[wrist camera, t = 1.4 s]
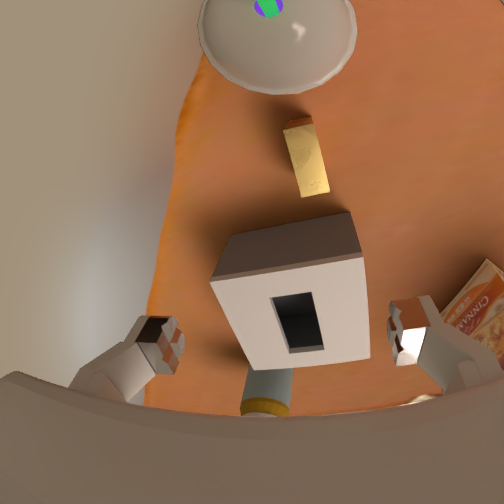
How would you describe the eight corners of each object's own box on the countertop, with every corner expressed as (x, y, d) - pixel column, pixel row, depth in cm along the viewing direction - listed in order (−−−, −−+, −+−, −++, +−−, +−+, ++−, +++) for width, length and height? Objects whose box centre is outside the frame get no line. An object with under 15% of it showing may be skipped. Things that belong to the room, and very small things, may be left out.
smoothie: (230, 67, 24) (106, 52, 8) (269, 1, 20) (210, -111, 3) (305, 106, 26) (312, 146, 9) (347, 40, 21) (426, -30, 4)
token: (311, 115, 26) (313, 123, 21) (325, 171, 29) (330, 191, 24) (286, 121, 27) (282, 130, 22) (302, 176, 30) (301, 197, 25)
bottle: (293, 344, 43) (284, 432, 31) (294, 370, 47) (286, 449, 35) (249, 343, 45) (229, 427, 32) (254, 368, 48) (238, 445, 36)
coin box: (349, 211, 31) (363, 256, 23) (362, 305, 37) (370, 358, 30) (230, 235, 35) (209, 282, 27) (263, 319, 41) (253, 370, 34)
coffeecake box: (486, 256, 30) (552, 368, 14) (508, 275, 30) (565, 375, 14) (422, 329, 38) (449, 443, 22) (448, 340, 39) (476, 443, 22)
